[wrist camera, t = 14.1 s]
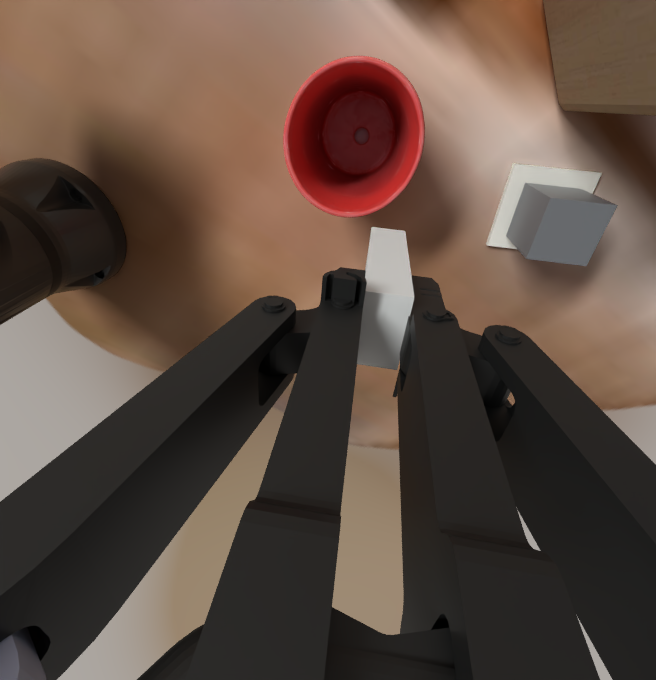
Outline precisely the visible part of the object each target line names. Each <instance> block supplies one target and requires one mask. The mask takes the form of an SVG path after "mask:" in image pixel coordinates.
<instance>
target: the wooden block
mask: <svg viewBox="0 0 656 680" xmlns="http://www.w3.org/2000/svg"><path fill="white" fill-rule="evenodd" d="M543 4H544V10H545V17H546V23H547V30H548V36H549V43H550V49H551V56H552V62H553V69H554V75H555V82H556V88H557V95H558V101H559V104H560V106H561V107H562V109H563V110H565V111H583V112H601V113H618V114H636V115H654V116H656V0H543Z"/></svg>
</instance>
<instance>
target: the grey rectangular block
mask: <svg viewBox="0 0 656 680" xmlns="http://www.w3.org/2000/svg"><path fill="white" fill-rule="evenodd" d="M617 206H618V205H616V204H613V203H611V202H609V201H607V200H605V199H602V198H600V197H598V196H596V195H594V194H591V193H589V192H587V191H585V190H583V189H579V188H569V187H560V186H551V185H542V184H533V183H525V185H524V187H523V190H522V193H521V196H520V198H519V201H518V204H517V207H516V209H515V212H514V215H513V218H512V221H511V223H510V226H509V229H508V232H507V234H506V237H507V238H508V239H509V240H510V241H511V242H512V243H513V245H514V246H515V247H516V248H517V249H518V250H519V251H520V252H521V254H522V255H523V256H524V257H525V258H526V259H532V260H540V261H548V262H556V263H564V264H573V265H581V266H587V264H588V262H589V260H590V258H591V256H592V254H593V252H594V250H595V248H596V246H597V245H598V243H599V241H600V239H601V237H602V235H603V233H604V231H605V229H606V227H607V225H608V223H609V221H610V219H611V217H612V215H613V213H614V211H615V209H616V207H617Z"/></svg>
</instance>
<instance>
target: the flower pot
mask: <svg viewBox="0 0 656 680" xmlns="http://www.w3.org/2000/svg"><path fill="white" fill-rule="evenodd" d="M424 138H425V124H424V116H423V110H422V106H421V102H420V100H419V97H418V95H417V93H416V91H415V89H414V87H413V86H412V84H411V83H410V81H409V80H408V79H407V78H406V77H405V75H403V74H402V73H401V72H400V71H399V70H398V69H397V68H395V67H394V66H392V65H391V64H389V63H387V62H385V61H382V60H380V59H377V58H373V57H367V56H350V57H344V58H340V59H337V60H335V61H332V62H330V63H328V64H326V65H324V66H323V67H321V68H320V69H318V70H317V71H316V72H314V73H313V74H312V75H311V76H310V77H309V78H308V79H307V80H306V81H305V82H304V83H303V85H302V86H301V87H300V89H299V90H298V92H297V93H296V95H295V97H294V99H293V101H292V103H291V105H290V108H289V111H288V114H287V118H286V121H285V127H284V136H283V145H284V155H285V161H286V165H287V168H288V171H289V173H290V176H291V178H292V180H293V182H294V184H295V186H296V187H297V188H298V190H299V191H300V192H301V194H302V195H303V196H304V197H305V198H306V199H307V200H308V201H309V202H310V203H311V204H313V205H314V206H315V207H317V208H318V209H320V210H322V211H324V212H326V213H329V214H331V215H335V216H340V217H360V216H365V215H368V214H371V213H374V212H376V211H378V210H380V209H382V208H384V207H385V206H387V205H388V204H389V203H391V202H392V201H393V200H394V199H395V198H396V197H398V196H399V195H400V194H401V192H402V191H403V190H404V189H405V188H406V186H407V185H408V184H409V182H410V181H411V179H412V177H413V175H414V173H415V171H416V169H417V167H418V164H419V162H420V159H421V155H422V151H423V146H424Z"/></svg>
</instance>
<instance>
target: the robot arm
mask: <svg viewBox="0 0 656 680" xmlns="http://www.w3.org/2000/svg"><path fill="white" fill-rule="evenodd" d="M125 255H126V239H125V234H124V230H123V227H122V224H121V221H120V219H119V217H118V215H117V213H116V211H115V209H114V208H113V206H112V205H111V203H110V202H109V200H108V199H107V198H106V196H105V195H104V194H103V193H102V192H101V190H100V189H99V188H98V187H97V186H96V185H95V184H94V183H92V182H91V181H90V180H89V179H88V178H87V177H85V176H84V175H83V174H81V173H80V172H78V171H77V170H75V169H73V168H71V167H69V166H67V165H65V164H63V163H60V162H57V161H54V160H50V159H42V158H35V159H28V160H22V161H17V162H13V163H10V164H8V165H6V166H4V167H2V168H1V169H0V325H1V324H3V323H4V322H6V321H8V320H9V319H11V318H13V317H14V316H16V315H18V314H19V313H21V312H23V311H24V310H26V309H28V308H29V307H31V306H33V305H34V304H36V303H38V302H40V301H41V300H43V299H45V298H46V297H48V296H50V295H52V294H54V293H60V292H66V291H72V290H78V289H84V288H90V287H93V286H96V285H99V284H101V283H103V282H104V281H106V280H107V279H109V278H111V277H112V276H114V275H115V274H116V273H117V272H118V271H119V270H120V268H121V266H122V265H123V262H124V259H125ZM399 360H400V369H399V373H398V377H397V381H396V385H395V390H394V394H393V397H396V396H397V393H398V425H399V456H400V457H399V458H400V489H401V521H402V551H403V552H402V555H403V584H404V585H403V587H404V605H403V615H402V621H401V629H400V634H397V635H386V634H382V633H380V632H378V631H376V630H374V629H372V628H370V627H368V626H367V625H365V624H363V623H361V622H359V621H357V620H355V619H353V618H351V617H350V616H348V615H346V614H344V613H342V612H340V611H338V610H336V609H334V608H332V599H333V590H334V581H335V571H336V561H337V552H338V543H339V533H340V523H341V516H340V512H341V502H342V492H343V483H344V475H345V466H346V457H347V447H348V439H349V430H350V421H351V412H352V403H353V394H354V385H355V376H356V367H357V364H360V365H367V366H374V367H381V368H387V369H394V370H397V368H398V364H399ZM294 373H297V376H296V379H295V382H294V385H293V388H292V391H291V394H290V397H289V400H288V404H287V407H286V410H285V413H284V416H283V419H282V422H281V425H280V428H279V431H278V435H277V437H276V440H275V444H274V447H273V450H272V453H271V456H270V459H269V462H268V465H267V468H266V472H265V474H264V478H263V481H262V484H261V487H260V490H259V492H258V495H257V497H256V499H255V500H253V501H250V502H249V503H248V505H247V506H246V508H245V510H244V513H243V515H242V518H241V520H240V523H239V526H238V529H237V532H236V535H235V538H234V540H233V543H232V546H231V549H230V552H229V555H228V558H227V560H226V563H225V566H224V569H223V572H222V575H221V578H220V581H219V584H218V586H217V589H216V592H215V595H214V598H213V601H212V604H211V607H210V610H209V612H208V615H207V618H206V621H205V624H204V625H202V626H200V627H198V628H197V629H195V630H193V631H192V632H191V633H189V634H188V635H187V636H185V637H184V638H183V639H182V640H180V641H178V642H177V643H176V644H175V645H174V646H173V647H172V648H170V649H169V650H168V651H167V652H166V653H165V654H164V655H163V656H162V657H161V658H160V659H159V660H157V661H156V662H155V663H154V664H153V665H152V666H151V667H150V668H149V669H148V670H147V671H146V672H145V673H144V674H142V675H141V676H140V677H139V678H138V679H137V680H600V678H599V676H598V673H597V671H596V668H595V665H594V662H593V660H592V657H591V654H590V651H589V648H588V646H587V643H586V640H585V638H584V635H583V632H582V629H581V627H580V624H579V621H578V618H579V620H580V622H581V623H582V625H583V627H584V629H585V631H586V633H587V634H588V636H589V638H590V640H591V642H592V643H593V645H594V647H595V649H596V651H597V652H598V654H599V656H600V658H601V659H602V661H603V663H604V665H605V667H606V668H607V670H608V672H609V674H610V676H611V677H612V679H613V680H656V465H655V464H654V463H653V462H652V461H651V460H650V459H649V458H648V457H647V456H646V455H645V454H644V453H643V451H642V450H641V449H640V448H639V447H638V446H637V445H635V443H633V442H632V440H631V439H629V437H628V436H627V435H626V434H625V433H624V432H623V431H622V430H621V429H620V428H619V427H617V425H616V424H615V423H614V422H613V421H611V419H610V418H609V417H608V416H607V415H606V414H605V413H604V412H603V411H602V410H601V409H600V408H599V407H598V406H597V405H596V404H595V403H594V402H593V401H592V400H591V399H590V398H589V397H588V396H587V395H586V394H585V393H584V392H583V391H582V390H581V389H580V388H579V387H578V386H577V385H576V384H575V383H574V382H573V381H572V380H571V379H570V378H569V377H568V376H567V375H566V374H565V373H564V372H563V371H562V370H561V369H560V368H559V367H558V366H557V365H556V364H555V363H554V362H553V361H552V360H551V359H550V358H549V357H548V356H547V355H546V354H545V353H544V352H543V351H542V350H541V349H540V348H539V347H538V346H537V345H536V344H535V343H534V342H533V341H532V340H531V339H530V338H529V337H528V336H526V335H525V334H524V333H522V332H520V331H518V330H517V329H515V328H512V327H509V326H500V325H493V326H489V327H487V328H485V330H484V333H483V335H482V336H481V335H478V334H474V333H471V332H468V331H465V330H463V329H461V328H460V327H459V324H458V320H457V318H456V317H455V315H454V314H452V313H451V312H450V311H448V310H446V309H445V306H444V302H443V299H442V295H441V292H440V288H439V285H438V284H437V283H436V282H435V281H434V280H433V279H432V278H427V277H419V276H411V269H410V262H409V255H408V247H407V240H406V233H405V231H402V230H394V229H386V228H377V227H372V228H371V234H370V241H369V248H368V255H367V262H366V268H365V270H357V269H349V268H341V267H340V268H339V269H337V270H335V271H330V272H327V273H325V274H324V276H323V280H322V293H321V302H320V305H319V307H317V308H314V309H310V310H296V306H295V303H294V302H292V301H291V300H289V299H287V298H284V297H279V296H267V297H263V298H259V299H257V300H255V301H254V302H253V303H251V304H250V305H249V306H247V307H246V308H245V309H244V310H242V311H241V312H240V313H239V314H237V315H236V316H235V317H234V318H232V319H231V320H230V321H228V322H227V323H226V324H225V325H223V326H222V327H221V328H220V329H218V330H217V331H216V332H215V333H213V334H212V335H211V336H210V337H208V338H207V339H206V340H204V341H203V342H202V343H201V344H199V345H198V346H197V347H196V348H194V349H193V350H192V351H191V352H189V353H188V354H187V355H185V356H184V357H183V358H182V359H180V360H179V361H178V362H177V363H175V364H174V365H173V366H172V367H170V368H169V369H168V370H166V371H165V372H164V373H163V374H162V375H160V376H159V377H158V378H156V379H155V380H154V381H153V382H151V383H150V384H149V385H147V386H146V387H145V388H144V389H142V390H141V391H140V392H139V393H137V394H136V395H135V396H134V397H132V398H131V399H130V400H129V401H127V402H126V403H125V404H123V405H122V406H121V407H120V408H118V409H117V410H116V411H115V412H113V413H112V414H111V415H110V416H108V417H107V418H106V419H104V420H103V421H102V422H101V423H99V424H98V425H97V426H96V427H94V428H93V429H92V430H91V431H89V432H88V433H87V434H85V435H84V436H83V437H82V438H81V439H79V440H78V441H77V442H75V443H74V444H73V445H72V446H70V447H69V448H68V449H67V450H65V451H64V452H63V453H61V454H60V455H59V456H58V457H56V458H55V459H54V460H53V461H51V462H50V463H49V464H48V465H46V466H45V467H44V468H42V469H41V470H40V471H39V472H37V473H36V474H35V475H34V476H32V477H31V478H30V479H29V480H27V481H26V482H25V483H23V484H22V485H21V486H20V487H18V488H17V489H16V490H15V491H13V492H12V493H11V494H10V495H9V496H7V497H6V498H5V499H3V500H2V501H1V502H0V680H57V679H58V677H60V676H61V675H62V674H63V673H64V672H65V671H66V670H67V669H68V668H69V667H70V665H71V664H72V663H73V662H74V661H75V660H76V659H77V658H78V657H79V656H80V655H81V654H82V653H83V652H84V651H85V650H86V648H87V647H88V646H89V645H90V644H91V643H92V642H93V641H94V640H95V639H96V637H97V636H98V635H99V634H100V633H101V631H102V630H103V629H104V628H105V626H106V625H107V624H108V623H109V621H110V620H111V619H112V618H113V617H114V615H115V614H116V613H117V612H118V610H119V609H120V608H121V607H122V605H123V604H124V603H125V601H126V600H127V599H128V597H129V596H130V594H131V593H132V592H133V591H134V589H135V588H136V587H137V585H138V584H139V583H140V581H141V580H142V579H143V577H144V576H145V575H146V573H147V572H148V571H149V569H150V568H151V567H152V565H153V564H154V563H155V561H156V560H157V559H158V557H159V556H160V555H161V553H162V552H163V551H164V550H165V548H166V547H167V546H168V544H169V543H170V542H171V540H172V539H173V538H174V536H175V535H176V534H177V532H178V531H179V530H180V528H181V527H182V526H183V524H184V523H185V522H186V520H187V519H188V517H189V516H190V515H191V514H192V512H193V511H194V510H195V508H196V507H197V505H198V504H199V503H200V502H201V500H202V499H203V498H204V496H205V495H206V494H207V492H208V491H209V490H210V488H211V487H212V486H213V484H214V483H215V482H216V481H217V479H218V478H219V476H220V475H221V474H222V473H223V471H224V470H225V469H226V467H227V466H228V465H229V463H230V462H231V461H232V459H233V458H234V456H235V455H236V454H237V453H238V451H239V450H240V449H241V447H242V446H243V444H244V443H245V442H246V441H247V439H248V438H249V437H250V435H251V434H252V433H253V431H254V430H255V429H256V427H257V426H258V425H259V423H260V422H261V421H262V419H263V418H264V417H265V415H266V414H267V413H268V411H269V410H270V409H271V407H272V406H273V405H274V404H275V402H276V401H277V400H278V398H279V397H280V396H281V394H282V393H283V392H284V390H285V389H286V388H287V386H288V385H289V384H290V382H291V381H292V379H293V376H294ZM510 392H512V394H513V396H514V399H515V403H514V405H513V406H512V405H511V404H510V402H509V401H508V400H507V398H508V396H509V394H510ZM516 507H517V508H516ZM517 509H518V511H519V512H520V514H521V516H522V518H523V520H524V522H525V523H526V525H527V527H528V529H529V531H530V532H531V534H532V536H533V538H534V539H535V541H536V543H537V545H538V547H539V548H540V550H541V551H538V550H535V549H533V548H532V547H531V546H530V545H529V543H528V541H527V539H526V536H525V533H524V530H523V527H522V524H521V521H520V518H519V514H518V511H517ZM576 615H577V616H578V618H577V616H576Z"/></svg>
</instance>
